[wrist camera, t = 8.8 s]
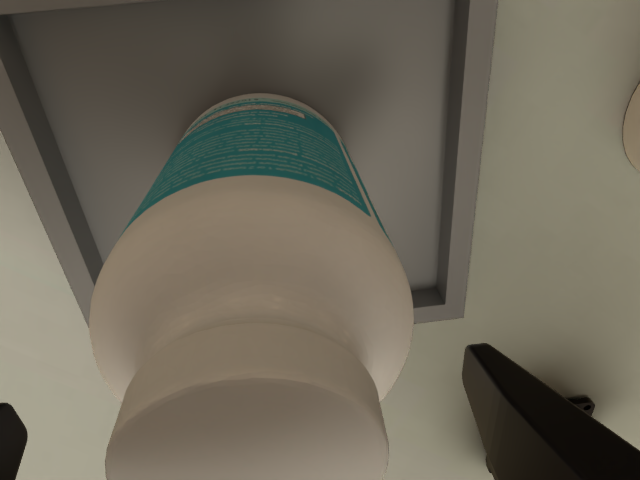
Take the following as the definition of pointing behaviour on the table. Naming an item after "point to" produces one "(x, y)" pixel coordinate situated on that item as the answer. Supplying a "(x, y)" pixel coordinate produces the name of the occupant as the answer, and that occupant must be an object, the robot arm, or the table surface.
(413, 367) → the table surface
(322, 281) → the pill bottle
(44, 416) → the table surface
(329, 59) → the tray
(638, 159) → the cylindrical container
